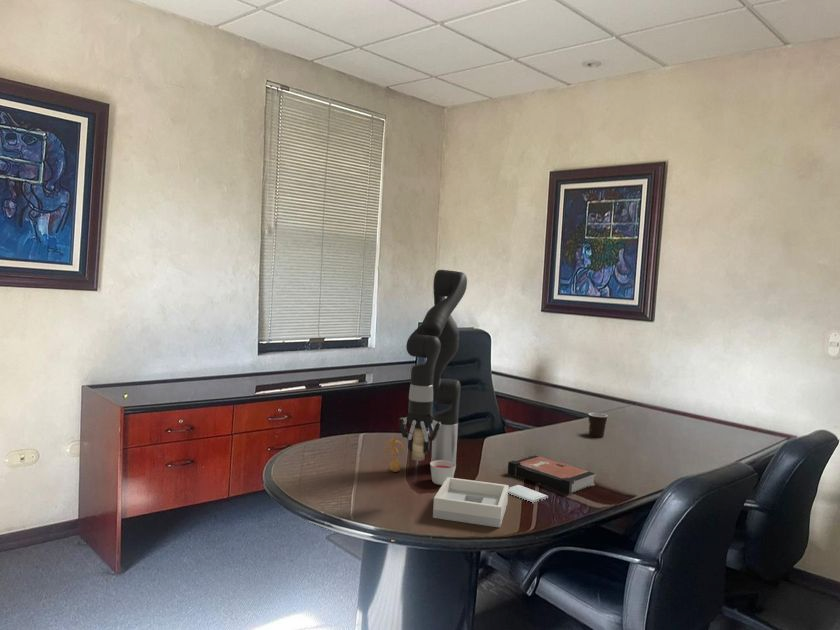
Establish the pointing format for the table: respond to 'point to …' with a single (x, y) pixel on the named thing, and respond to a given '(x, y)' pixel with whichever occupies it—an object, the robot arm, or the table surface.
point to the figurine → (394, 465)
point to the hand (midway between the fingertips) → (418, 451)
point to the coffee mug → (597, 424)
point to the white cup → (442, 471)
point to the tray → (471, 502)
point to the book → (552, 474)
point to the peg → (418, 445)
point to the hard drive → (526, 493)
